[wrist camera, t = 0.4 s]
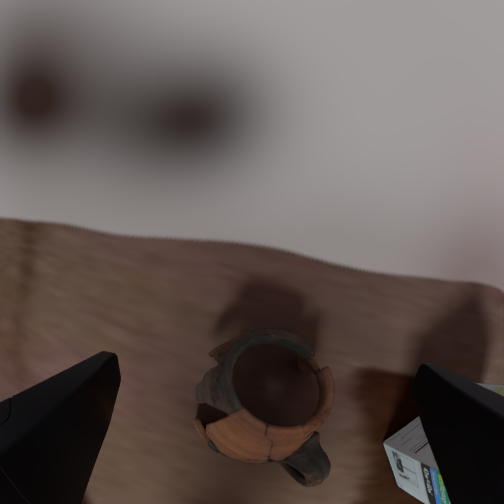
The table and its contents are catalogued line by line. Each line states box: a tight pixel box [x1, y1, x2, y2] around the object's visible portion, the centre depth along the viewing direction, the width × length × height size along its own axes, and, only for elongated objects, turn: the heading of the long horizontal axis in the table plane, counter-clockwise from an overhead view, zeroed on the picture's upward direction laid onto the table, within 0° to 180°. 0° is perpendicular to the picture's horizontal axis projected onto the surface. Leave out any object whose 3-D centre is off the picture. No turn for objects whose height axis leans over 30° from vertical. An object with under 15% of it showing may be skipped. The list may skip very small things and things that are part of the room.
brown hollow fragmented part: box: [193, 329, 335, 487], centre depth 19 cm, size 12×10×8 cm
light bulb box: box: [383, 383, 504, 504], centre depth 17 cm, size 11×7×11 cm, turn 114°
